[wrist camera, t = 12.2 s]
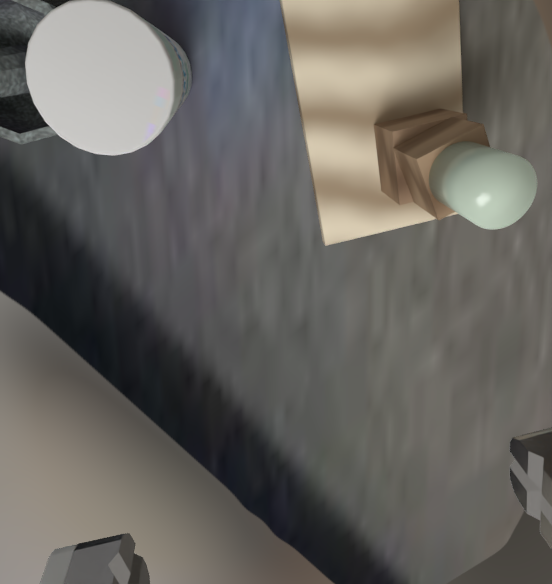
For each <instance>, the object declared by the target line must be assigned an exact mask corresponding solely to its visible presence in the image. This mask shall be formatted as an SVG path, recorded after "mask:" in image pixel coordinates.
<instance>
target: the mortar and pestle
mask: <svg viewBox="0 0 552 584" xmlns="http://www.w3.org/2000/svg"><path fill="white" fill-rule="evenodd" d="M54 8H56V7H55V6H53V5H51V4H49V3H47V2H44V1H42V0H0V137H2V138H5V139H8V140H11V141H14V142H16V143H19V144H24V143H28V142H32V141H36V140H39V139H43V138H47V137H51V136H54V135H58V134H57V133H56V132H55V131H54V130H53V129H52V128H51V127H50V126H49V125H48V124H47V123H46V122H45V121H44V119H43V117H42V116H41V114H40V113H39V111H38V109H37V108H36V106H35V105H34V102H33V100H32V97H31V94H30V91H29V88H28V85H27V79H26V68H25V59H26V54H27V48H28V42H29V40H30V38H31V36H32V34H33V32H34V30H35V28H36V26H37V24H38V23H39V22H40V21H41V20H42V19H43V18H44V17H45V16H46V15H47V14H48V13H49V12H50V11H51V10H52V9H54Z"/></svg>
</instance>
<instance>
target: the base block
mask: <svg viewBox="0 0 552 584" xmlns="http://www.w3.org/2000/svg"><path fill="white" fill-rule="evenodd" d="M450 117H454V118H459V119H463V120H467V114H465V113H460V112H455V111H450V110H445V109H441V108H440V109H436V110H432V111H428V112H424V113H419V114H415V115H411V116H407V117H403V118H399V119H394V120H390V121H386V122H382V123H378V124H374V132H375V141H376V150H377V158H378V167H379V175H380V184H381V191H382V192H383V193H385V194H386V195H387V196H388V197H390V198H391V199H392V200H394V201H395V202H396V203H397V204H399V205H403V204H407V203H411V202H413V199H412V196H411V194H410V191H409V188H408V186H407V183H406V181H405V178H404V175H403V173H402V170H401V168H400V165H399V162H398V160H397V157H396V155H395V152H394V149H393V148H394V147H396V146H398V145H400V144H402V143H403V142H405V141H407V140H409V139H411V138H413V137H415V136H417V135H418V134H420V133H422V132H424V131H426V130H428V129H430V128H432V127H433V126H435V125H437V124H439V123H441V122H443V121H445V120H447V119H448V118H450Z"/></svg>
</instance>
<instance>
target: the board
mask: <svg viewBox="0 0 552 584" xmlns="http://www.w3.org/2000/svg"><path fill="white" fill-rule="evenodd" d="M280 5H281V10H282V16H283V22H284V27H285V33H286V38H287V44H288V49H289V55H290V61H291V66H292V72H293V77H294V83H295V88H296V94H297V99H298V105H299V111H300V116H301V122H302V127H303V133H304V138H305V144H306V150H307V155H308V161H309V166H310V172H311V177H312V183H313V188H314V194H315V200H316V205H317V211H318V216H319V222H320V227H321V233H322V239H323V242H324V244H325V246H326V245H330V244H335V243H339V242H343V241H347V240H351V239H355V238H359V237H364V236H368V235H372V234H376V233H380V232H384V231H388V230H393V229H397V228H401V227H405V226H409V225H413V224H417V223H421V222H426V221H430V220H434V219H436V218H435V217H434V216H432V215H431V214H429V213H428V212H426V211H425V210H424V209H422V208H421V207H419V206H418V205H417V204H415V203H414V202H411V203H407V204H403V205H399V204H397V203H396V202H395V201H394V200H392V199H391V198H390V197H388V196H387V195H386V194H385V193H383V192H382V191H381V184H380V175H379V167H378V158H377V150H376V141H375V132H374V124H378V123H382V122H386V121H390V120H394V119H399V118H403V117H407V116H411V115H415V114H419V113H424V112H428V111H432V110H436V109H440V108H441V109H445V110H450V111H455V112H460V113H463V100H462V72H461V44H460V16H459V0H280ZM455 214H458V213H457V212H454V213H452V214H450V215H455ZM450 215H448V216H450Z"/></svg>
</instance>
